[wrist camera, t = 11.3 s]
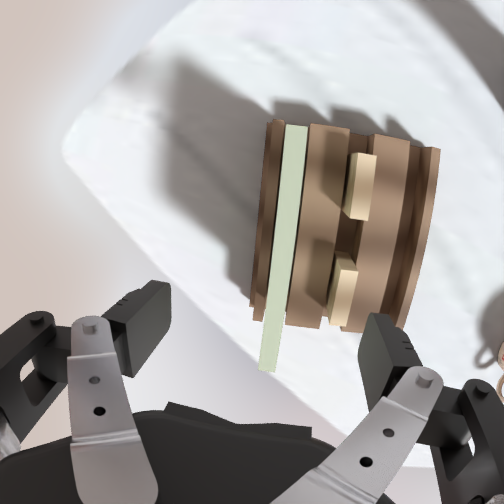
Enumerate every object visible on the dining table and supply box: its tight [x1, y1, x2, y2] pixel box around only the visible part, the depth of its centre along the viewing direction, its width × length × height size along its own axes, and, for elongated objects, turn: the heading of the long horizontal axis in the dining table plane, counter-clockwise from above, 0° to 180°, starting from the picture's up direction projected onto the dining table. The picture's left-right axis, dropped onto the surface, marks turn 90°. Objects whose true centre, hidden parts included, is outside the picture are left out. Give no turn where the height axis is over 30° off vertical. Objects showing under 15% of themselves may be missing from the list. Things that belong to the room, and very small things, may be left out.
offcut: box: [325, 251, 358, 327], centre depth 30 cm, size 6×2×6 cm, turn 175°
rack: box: [249, 119, 441, 333], centre depth 30 cm, size 20×18×4 cm
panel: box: [258, 124, 308, 372], centre depth 25 cm, size 16×1×14 cm, turn 175°
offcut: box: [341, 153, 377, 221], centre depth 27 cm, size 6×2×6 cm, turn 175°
